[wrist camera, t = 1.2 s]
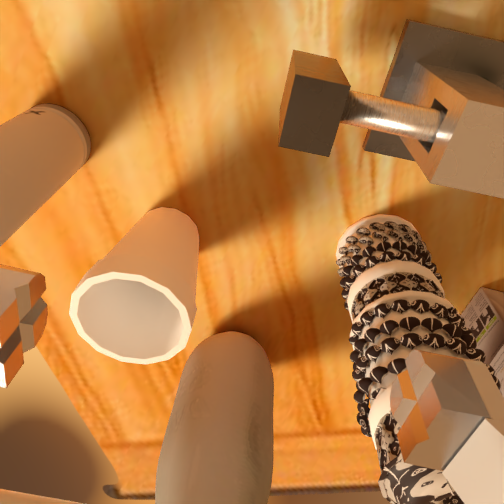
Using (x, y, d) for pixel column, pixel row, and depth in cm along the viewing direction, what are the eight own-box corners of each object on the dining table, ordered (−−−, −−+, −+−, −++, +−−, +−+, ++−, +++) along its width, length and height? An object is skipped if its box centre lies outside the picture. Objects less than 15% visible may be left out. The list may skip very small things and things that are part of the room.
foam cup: (161, 173, 41) (115, 249, 30) (233, 235, 44) (215, 324, 33) (105, 233, 45) (47, 319, 34) (174, 286, 48) (142, 379, 37)
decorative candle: (316, 234, 43) (344, 485, 22) (407, 194, 40) (539, 441, 19) (352, 298, 47) (404, 561, 26) (437, 266, 44) (572, 534, 23)
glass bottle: (247, 385, 56) (220, 683, 33) (177, 352, 54) (92, 650, 30) (290, 339, 51) (295, 652, 28) (215, 301, 49) (149, 610, 25)
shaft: (293, 49, 29) (295, 73, 23) (557, 108, 30) (634, 148, 24) (280, 108, 32) (278, 146, 25) (527, 161, 33) (588, 211, 26)
